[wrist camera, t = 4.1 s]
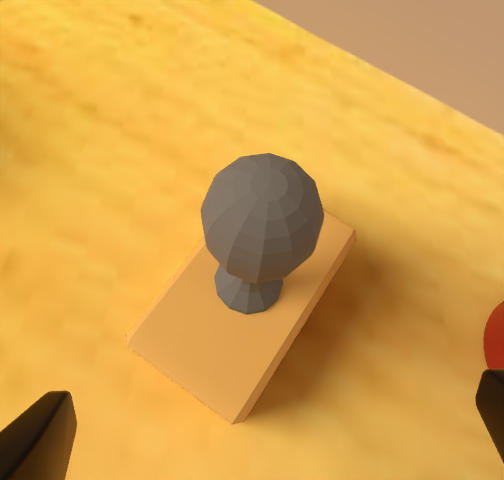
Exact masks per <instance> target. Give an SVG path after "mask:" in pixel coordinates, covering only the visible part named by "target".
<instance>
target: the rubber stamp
mask: <svg viewBox="0 0 504 480" xmlns="http://www.w3.org/2000/svg"><path fill="white" fill-rule="evenodd" d="M201 217H202V224H203V230H204V237H203V238H202V240H201V241H200V242H199V243H198V245H197V246H196V247H195V248H194V250H193V251H192V252H191V253H190V255H189V256H188V257H187V258H186V260H185V261H184V262H183V264H182V265H181V266H180V267H179V269H178V270H177V271H176V272H175V274H174V275H173V276H172V277H171V279H170V280H169V281H168V282H167V284H166V285H165V286H164V287H163V289H162V290H161V291H160V293H159V294H158V295H157V296H156V298H155V299H154V300H153V301H152V303H151V304H150V305H149V306H148V308H147V309H146V310H145V311H144V313H143V314H142V315H141V316H140V318H139V319H138V320H137V322H136V323H135V324H134V325H133V327H132V328H131V329H130V330H129V332H128V333H127V335H126V346H127V347H128V348H129V349H131V350H132V351H133V352H135V353H136V354H137V355H139V356H140V357H141V358H143V359H144V360H146V361H147V362H148V363H150V364H151V365H152V366H154V367H155V368H156V369H158V370H159V371H160V372H162V373H163V374H164V375H166V376H167V377H168V378H170V379H171V380H172V381H174V382H175V383H177V384H178V385H179V386H181V387H182V388H183V389H185V390H186V391H187V392H189V393H190V394H191V395H193V396H194V397H195V398H197V399H198V400H199V401H201V402H202V403H203V404H205V405H206V406H208V407H209V408H210V409H212V410H213V411H214V412H216V413H217V414H218V415H220V416H221V417H222V418H224V419H225V420H226V421H228V422H229V423H230V424H235V423H240V422H244V420H245V419H246V417H247V416H248V414H249V412H250V411H251V409H252V408H253V406H254V404H255V403H256V401H257V399H258V398H259V396H260V395H261V393H262V391H263V390H264V388H265V387H266V385H267V383H268V382H269V380H270V378H271V377H272V375H273V374H274V372H275V370H276V369H277V367H278V366H279V364H280V362H281V361H282V359H283V357H284V356H285V354H286V353H287V351H288V349H289V348H290V346H291V345H292V343H293V341H294V340H295V338H296V336H297V335H298V333H299V332H300V330H301V328H302V327H303V325H304V324H305V322H306V320H307V319H308V317H309V316H310V314H311V312H312V311H313V309H314V307H315V306H316V304H317V303H318V301H319V299H320V298H321V296H322V295H323V293H324V291H325V290H326V288H327V286H328V285H329V283H330V282H331V280H332V278H333V277H334V275H335V274H336V272H337V270H338V269H339V267H340V265H341V264H342V262H343V261H344V259H345V257H346V256H347V254H348V253H349V251H350V249H351V248H352V246H353V244H354V243H355V241H356V236H355V229H354V228H352V227H350V226H349V225H347V224H346V223H344V222H342V221H341V220H339V219H337V218H336V217H334V216H333V215H331V214H329V213H328V212H326V211H324V210H323V208H322V204H321V201H320V197H319V194H318V190H317V187H316V183H315V181H314V180H313V179H312V178H311V177H310V176H309V175H308V174H307V173H306V172H305V171H304V170H303V169H302V168H301V167H300V166H299V165H298V164H297V163H296V162H294V161H292V160H289V159H286V158H283V157H280V156H277V155H274V154H270V153H267V154H259V155H251V156H243V157H240V158H238V159H237V160H236V161H234V162H233V163H231V164H230V165H228V166H227V167H226V168H224V169H223V170H221V171H220V172H219V173H218V174H217V175H216V176H215V177H214V179H213V181H212V184H211V186H210V188H209V190H208V193H207V195H206V197H205V199H204V202H203V204H202V208H201Z"/></svg>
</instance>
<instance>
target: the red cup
mask: <svg viewBox="0 0 504 480" xmlns="http://www.w3.org/2000/svg"><path fill="white" fill-rule="evenodd" d="M484 352H485V358H486V361H487V365H488V368H489V369H500V368H501V369H504V301H503V302H502V303H501V304H499V305H498V306H497V307H496V308H495V309H494V311H493V312H492V314H491V315H490V317H489V319H488V322H487V324H486V328H485V333H484Z"/></svg>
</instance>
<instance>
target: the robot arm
mask: <svg viewBox="0 0 504 480" xmlns="http://www.w3.org/2000/svg"><path fill="white" fill-rule="evenodd" d="M476 406H477V409H478V411H479V413H480V415H481V417H482V419H483V421H484V423H485V426H486V428H487V430H488V432H489V434H490V436H491V438H492V440H493V442H494V444H495V446H496V448H497V450H498V452H499V454H500V457H501V459H502V461H503V463H504V369H501V368H500V369H487V370H485V371H484V372H483V374H482V377H481V380H480V383H479V387H478V390H477V393H476ZM76 428H77V420H76V415H75V410H74V406H73V401H72V396H71V394H70V392H68V391H51V392H48V393H46V394H45V395H43V396H42V397H41V398H40V399H39V400H38V401H36V402H35V403H34V404H33V405H32V406H30V407H29V408H28V409H27V410H26V411H25V412H23V413H22V414H21V415H20V416H19V417H17V418H16V419H15V420H14V421H13V422H11V423H10V424H9V425H8V426H7V427H6V428H4V429H3V430H2V431H1V432H0V480H65V476H66V472H67V468H68V464H69V459H70V455H71V451H72V447H73V442H74V438H75V434H76Z"/></svg>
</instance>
